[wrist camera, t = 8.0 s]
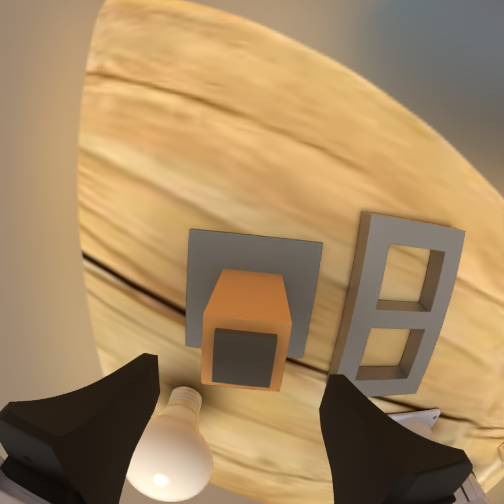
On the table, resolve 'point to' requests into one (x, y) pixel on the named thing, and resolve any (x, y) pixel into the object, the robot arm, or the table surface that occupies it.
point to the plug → (246, 331)
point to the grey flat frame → (395, 302)
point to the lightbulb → (173, 451)
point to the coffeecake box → (501, 452)
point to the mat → (257, 260)
